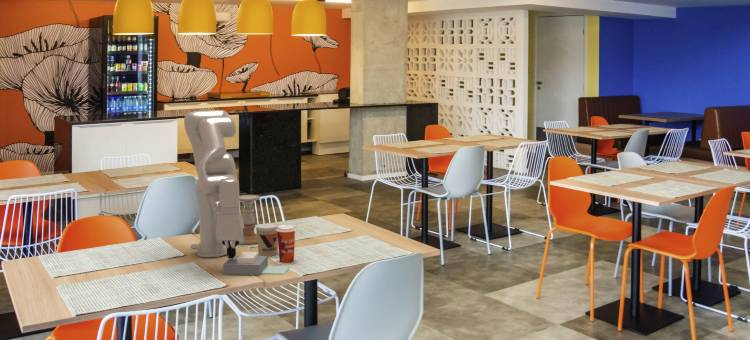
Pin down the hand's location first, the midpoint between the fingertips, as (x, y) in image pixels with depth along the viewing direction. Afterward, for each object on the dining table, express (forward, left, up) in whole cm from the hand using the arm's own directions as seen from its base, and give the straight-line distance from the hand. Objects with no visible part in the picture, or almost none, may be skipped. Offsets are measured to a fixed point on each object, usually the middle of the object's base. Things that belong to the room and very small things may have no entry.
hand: (231, 257), depth 295 cm
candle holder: (-5, +45, -5) cm, 45 cm away
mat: (+17, +1, -5) cm, 18 cm away
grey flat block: (+5, 0, -5) cm, 7 cm away
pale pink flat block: (+6, 0, -1) cm, 7 cm away
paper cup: (+18, +15, -5) cm, 24 cm away
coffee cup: (+8, +25, -5) cm, 27 cm away
